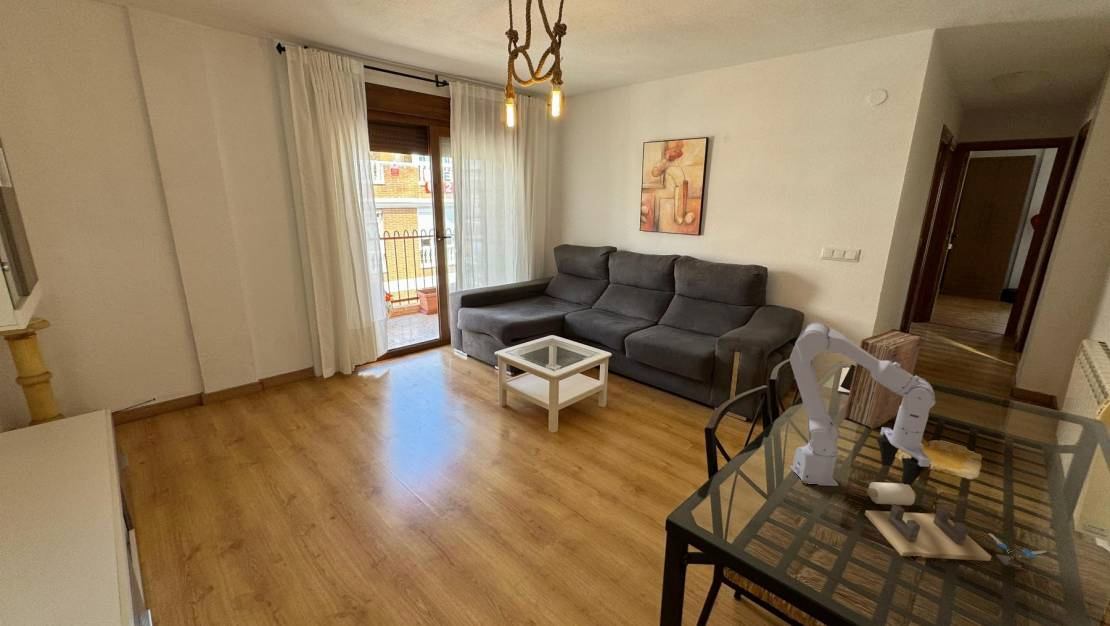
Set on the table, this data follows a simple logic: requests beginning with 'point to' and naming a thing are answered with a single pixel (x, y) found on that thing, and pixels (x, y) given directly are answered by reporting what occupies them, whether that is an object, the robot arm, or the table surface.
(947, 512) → the roll holder
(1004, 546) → the key chain
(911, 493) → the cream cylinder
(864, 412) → the brown upright rectangular block
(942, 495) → the table surface
